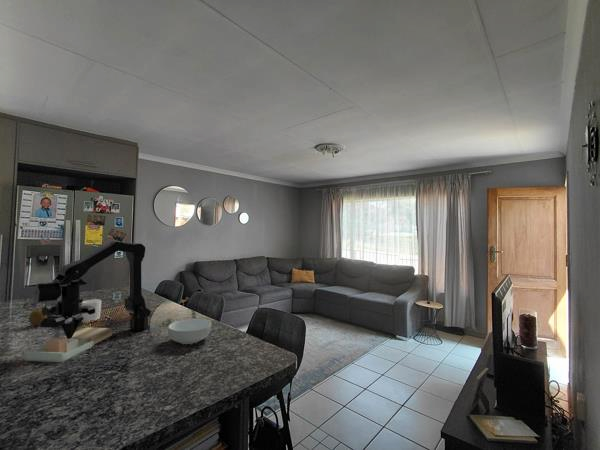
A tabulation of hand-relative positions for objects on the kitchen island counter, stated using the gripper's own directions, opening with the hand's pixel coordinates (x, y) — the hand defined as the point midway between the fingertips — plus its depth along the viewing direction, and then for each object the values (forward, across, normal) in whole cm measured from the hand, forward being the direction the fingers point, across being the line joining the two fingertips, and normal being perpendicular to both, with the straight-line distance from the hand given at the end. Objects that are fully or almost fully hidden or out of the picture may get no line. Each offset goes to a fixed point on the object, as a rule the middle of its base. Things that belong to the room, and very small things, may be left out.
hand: (69, 338), depth 111 cm
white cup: (+4, -32, -17) cm, 36 cm away
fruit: (+4, -22, -36) cm, 43 cm away
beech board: (+4, -9, 0) cm, 10 cm away
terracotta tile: (+1, +4, 0) cm, 4 cm away
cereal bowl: (+4, -12, +42) cm, 44 cm away
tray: (+4, +4, 0) cm, 5 cm away
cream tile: (+4, +1, 0) cm, 4 cm away
